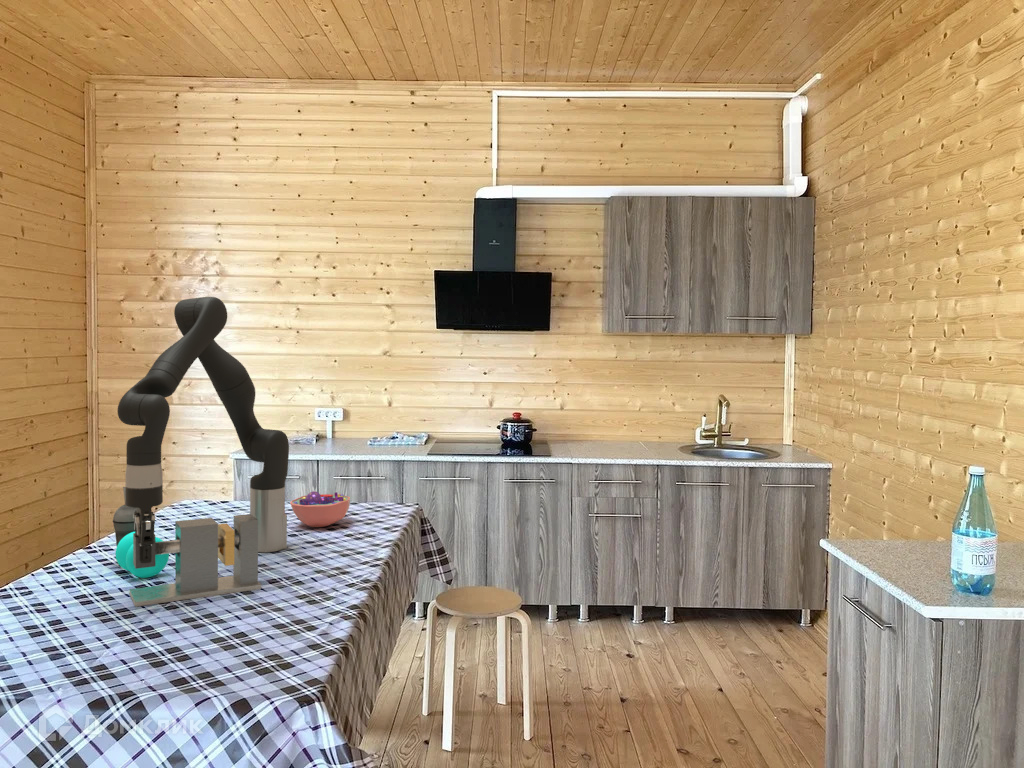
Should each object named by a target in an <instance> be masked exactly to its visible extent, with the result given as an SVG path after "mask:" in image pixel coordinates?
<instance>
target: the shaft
mask: <svg viewBox="0 0 1024 768" xmlns="http://www.w3.org/2000/svg"><path fill="white" fill-rule="evenodd" d="M155 537H156V534H155V533H154V544H153V545H152V546H151V562H150V563H141V562H140V545H139V543H140V537H139V536H137V533H133V564H134V566H135V568H136V569H138V568H146V567H154V566H155V555H159V554H168V553H169V554H175V553H177V552H180V540H175V539H172V540H163V541H162V542H155ZM148 539H149V536H145V537H144V540H148ZM234 546H239V533H238V534H234ZM221 547H224V537H223V536H222V535H219V536H218V548H221Z"/></svg>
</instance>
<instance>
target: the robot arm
mask: <svg viewBox="0 0 1024 768" xmlns="http://www.w3.org/2000/svg"><path fill="white" fill-rule="evenodd" d="M173 312H174V313H173V314H174V320H175V322H176V326H177V328H178V330H179V331H180V333H181V334H182V337H181V338H179V340H177V341H176V342H174V343H173V344H171V345H170V346H169V347H168V348H167V349H165V350H164V351H163V352H162V353H161V354H159V356H158V357H157V359H155V361H154V363H153V364H152V366H151V367H150V369H148V372H147V374H146V375H145V376H144V377H142V379H140V380H139V381H138V382H136V383H135V384H134V385H133V386H132V387H131V388H130V389H129V390H127V391H126V392H125V393H124V395H123V396H122V397H121V398H120V400H119V402H118V405H117V416H118V418H119V420H120V421H121V422H122V423H123V424H125V425H128V426H137V427H138V426H142V427H144V430H143V433H142V435H138V436H133V437H131V438H129V439H128V440H127V442H126V447H125V448H126V452H125V453H126V468H125V474H124V475H125V477H124V478H125V480H124V482H125V483H124V484H125V486H124V487H125V500H124V505H125V504H126V506H128V507H132V508H137V510H135V512H134V516H133V518H134V521H135V523H134V529H135V533H137V536H139V537H140V543H139V545H140V562H141V563H150V562H151V546H152V545H153V544H154V534H155V524H156V514H155V513H154V511H152V510H153V509H152V508H154V507H157V506H160V505H162V504H163V498H164V497H163V493H164V492H163V491H164V489H163V488H164V487H163V481H164V480H163V475H164V474H163V468H162V444H163V441H164V436H165V432H166V429H167V426H168V422H169V418H170V413H171V409H170V408H171V407H170V404H169V402H168V400H167V399H166V398H167V397H170V396H172V395H174V393H175V391H176V390H177V388H178V387H179V385H180V383H181V382H182V380H183V378H184V377H185V375H186V373H188V371H189V370H190V368H191V366H192V365H193V363H195V361H196V360H197V359H198V360H199V362H200V363H201V365H202V367H203V369H204V371H205V372H206V374H207V376H208V378H209V381H210V382H211V384H212V386H213V389H214V391H215V392H216V395H217V396H218V398H219V400H220V402H221V403H222V405H223V406H224V408H225V410H226V413H227V415H228V416H229V419H230V420H231V423H232V424H233V426H234V429H235V431H236V434H237V437H238V439H239V442H240V445H241V447H242V449H243V452H244V454H245V455H246V457H247V458H248V459H249V460H251V461H253V462H256V463H263V469H262V471H261V472H260V473H259V474H255V475H253V476H251V478H250V481H249V483H250V484H249V487H250V488H249V495H250V496H249V514H251V515H252V516H254V517H255V518H256V519H257V520H258V553H268V552H269V553H273V552H277V551H281V550H286V549H288V548H287V546H288V538H287V537H288V536H287V535H288V515H287V514H286V513H285V511H286V505H285V504H286V497H285V496H286V480H287V476H288V471H289V457H290V455H289V454H290V443H289V438H288V436H287V434H286V433H285V432H284V431H282V430H278V429H268V428H263V427H262V426H261V425H260V423H259V421H258V420H257V417H256V416H255V412H254V405H255V402H256V387H255V385H254V383H253V381H252V377H251V376H250V374H249V372H248V370H247V369H246V367H245V366H244V365H243V363H241V362H240V361H239V360H238V359H237V358H236V357H234V356H233V355H232V354H230V353H229V352H228V351H227V350H225V349H224V348H223V347H221V346H220V345H219V344H218V343H217V342H216V341H215V339H216V338H217V336H218V335H219V334H220V333H221V332H222V331H223V330H224V329H225V326H226V325H227V321H228V309H227V307H226V305H225V303H224V302H223V300H221V299H220V298H218V297H215V296H202V297H192V298H185V299H181V300H180V301H178V302H177V303H176V304H175V307H174V310H173ZM145 536H149V539H148V540H144V537H145Z"/></svg>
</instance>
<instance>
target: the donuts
mask: <svg viewBox="0 0 1024 768" xmlns="http://www.w3.org/2000/svg"><path fill="white" fill-rule="evenodd" d="M133 533H135V532H131V533H129V534H127V535H126V536H124V537H123V538H122V539H121V540H120V542H119V543H118V545H116V548H115V555H114V556H115V560H116V563H117V564H118V566H119V565H120V566H121V567H120V566H119V567H120V568H122V569H124V570H126V571H128V572H129V573H130V574H131V575H133V576H135V577H137V578H141V579H149V578H152V577H155V576H156V575H158V574H159V573H161V572H162V571H163V570H164V569H165V568H166V566H167V564H168V561H169V559H170V558H169V557H170V553H168V554H159V555H155V566H154V567H146V568H138V569H136V568H135V566H134V564H133ZM162 541H164V540H163V539H162V538H159V537H157V536H155V542H162Z"/></svg>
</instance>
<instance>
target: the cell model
mask: <svg viewBox="0 0 1024 768" xmlns="http://www.w3.org/2000/svg"><path fill="white" fill-rule="evenodd" d="M350 501H351V497H350V496H347V495H344V494H343V493H338V492H334V494H328V493H326V494H320V493H319V492H318V491H316V490H313V491H310V492H309V493H308V494H307V495H302V496H300V497H297V498H295V499H292V500H291V501H290V503H289V504H290V506H291V510H292V511H293V514H294V515H295V516H296V517H297V519H298V520H299V521H300V522H301V523H302V524H304V525H306V526H307V527H310V528H324V527H327V526H331V525H333V524H335V523H337V522H338V521H340V520H342V519H344V518H345V516H346V514H347V513H348V511H349V509H350V504H351V502H350Z"/></svg>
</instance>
